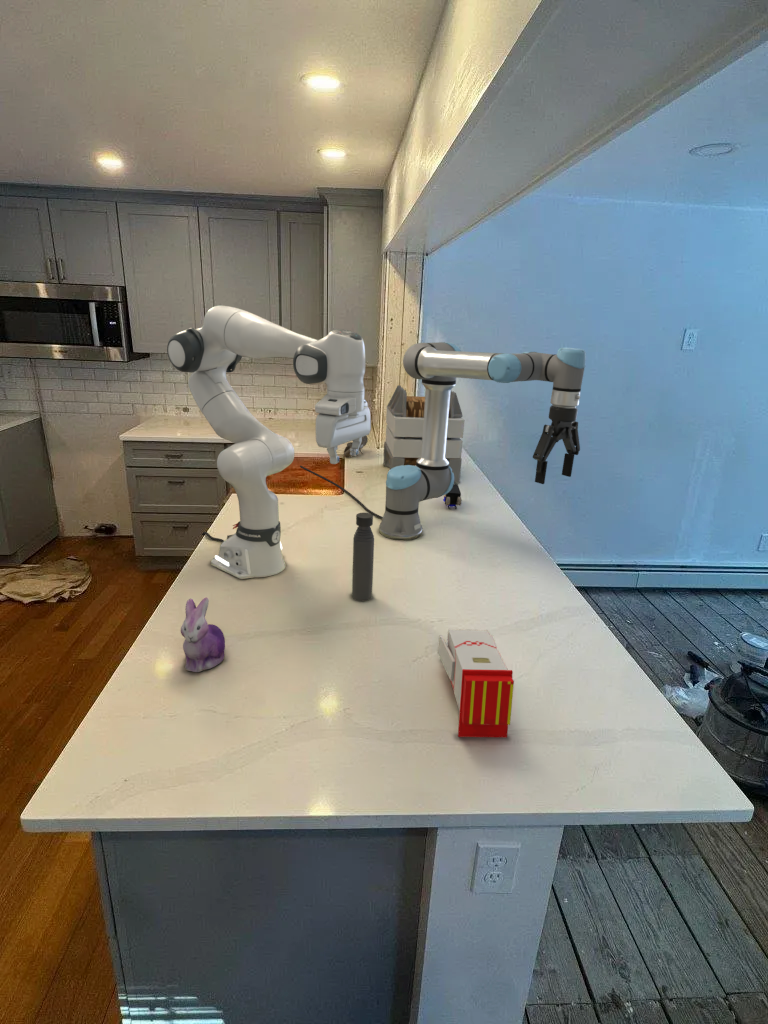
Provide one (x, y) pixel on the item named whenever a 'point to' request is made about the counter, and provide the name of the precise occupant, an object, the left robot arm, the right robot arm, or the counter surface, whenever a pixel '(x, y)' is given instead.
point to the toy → (478, 682)
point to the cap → (364, 519)
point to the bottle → (362, 564)
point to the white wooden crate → (419, 431)
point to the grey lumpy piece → (349, 445)
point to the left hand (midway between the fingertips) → (344, 459)
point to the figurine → (201, 638)
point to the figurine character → (453, 497)
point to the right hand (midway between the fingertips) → (553, 479)
